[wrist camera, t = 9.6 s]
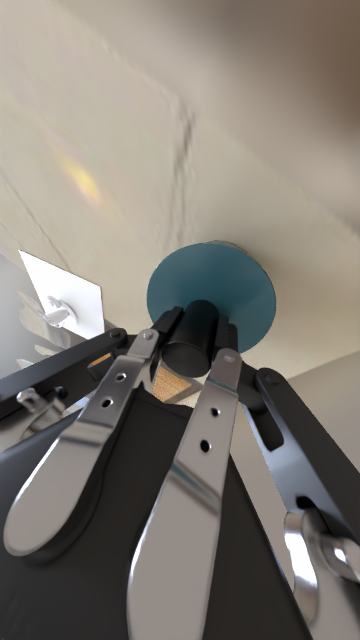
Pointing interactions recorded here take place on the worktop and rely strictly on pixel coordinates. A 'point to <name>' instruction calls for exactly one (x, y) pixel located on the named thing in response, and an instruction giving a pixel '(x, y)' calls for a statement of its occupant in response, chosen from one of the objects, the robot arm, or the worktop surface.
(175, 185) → the worktop surface
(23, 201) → the worktop surface
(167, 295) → the lid
